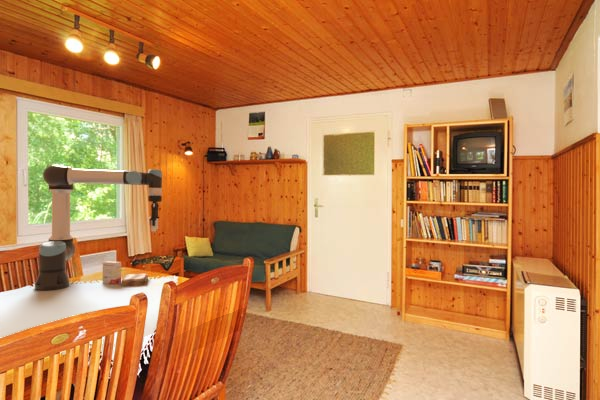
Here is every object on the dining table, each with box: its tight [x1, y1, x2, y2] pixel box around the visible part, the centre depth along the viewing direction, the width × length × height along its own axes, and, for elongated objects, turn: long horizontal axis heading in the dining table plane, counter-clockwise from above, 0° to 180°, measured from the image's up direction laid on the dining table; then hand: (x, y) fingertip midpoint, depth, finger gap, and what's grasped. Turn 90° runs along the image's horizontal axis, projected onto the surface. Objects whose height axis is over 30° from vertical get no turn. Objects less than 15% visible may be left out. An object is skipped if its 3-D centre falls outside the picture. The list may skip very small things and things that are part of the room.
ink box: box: [102, 260, 122, 285], centre depth 202 cm, size 9×5×12 cm, turn 78°
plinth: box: [121, 273, 149, 287], centre depth 204 cm, size 12×14×4 cm
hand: (154, 230), depth 219 cm, fingers open, 13 cm apart
